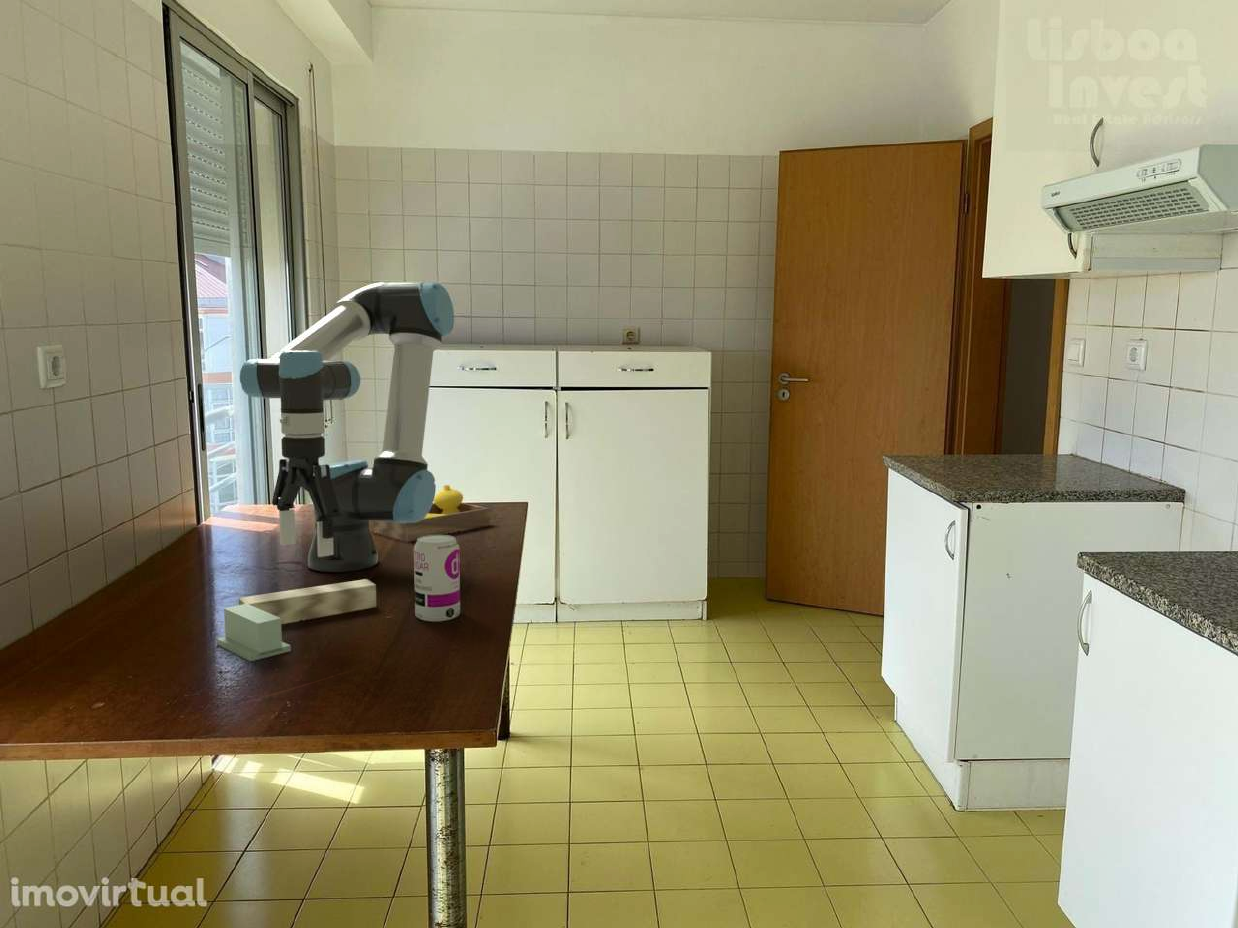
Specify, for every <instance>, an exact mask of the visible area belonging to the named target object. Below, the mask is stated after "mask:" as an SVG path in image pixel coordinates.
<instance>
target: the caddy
mask: <svg viewBox="0 0 1238 928" xmlns="http://www.w3.org/2000/svg"><path fill="white" fill-rule="evenodd" d="M457 508H458V509H459V510H460V511H461V512H459V513H453V514H447V515H442V516H436V517H430V518H424V519H422V520H420V521H419V522H415V523H397V522H386V521H371V520H370V533H371V532H374V533H373V534H375V533H378V534H377V535H379V534H381V535H380V536H382V535H384V536H383V537H386V536H387V538H390V537H391V539H393V538H395V539H394V540H397V539H399V540H398V541H401V542H404V541H405V543H410V542H411V541H412V542H415V541H416V542H417V539H418V538H420V537H422V536H428V535H444V534H445V535H449V534H448V533H450V534H454V533H453V532H455V533H458V532H457V531H460V532H464V531H470V530H472V529H473V530H474V529H478V528H483V527H488V526H490V520H491V519H490V508H489V507H485V506H481V505H474V504H470V503H466V502H465V503H464V502H461V504H460V505H459V506H458V507H457ZM442 511H443V509H440V508H439V507H438V506H436V504H435V503H434V502H433V504H432V507H431V509H430V511H429V512H428V514H441V513H442Z"/></svg>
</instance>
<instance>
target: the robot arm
mask: <svg viewBox="0 0 1238 928" xmlns="http://www.w3.org/2000/svg"><path fill="white" fill-rule="evenodd" d="M454 324H455V312H454V305H453V302H452V299H451V296H450V294H449V291H447V288H445V287H444V286H443V285H442V284H440V283H438V282H426V281H420V282H419V281H417V282H416V281H414V282H411V281H410V282H406V281H405V282H404V281H402V282H401V281H400V282H396V281H395V282H394V281H393V282H386V281H385V282H383V281H382V282H376V283H375V282H374V283H371V284H368V285H366V286H363V287H361V288H359V289H356V290H353V292H351V293H349V294H347V295H346V296H344V297H342V298H341V299H340V300H338V301H336V302H335V303H334V304H333V305H332V307H331V309H330V313H328V314H326V315H325V316H324V317H322V318H321V319H320V320H318V321H317V322H316V323H315V324H313V325H312V326H311V327H309V328H307V329H306V330H305V331H304V332H302V333H301V334H299V335H298V336H297V337H295V338H294V339H293V340H291V341H290V342H288V343H287V344H286V345H284V346H283V347H282V348H280V349H279V350H277V351H276V352H275V353H273V354H272V355H271V356H268V358H258V357H257V358H256V359H252V358H251V359H248V360H246V361H245V362H244V363H243V364H242V366H241V368H240V371H239V382H240V386H241V389H242V391H243V392H244V394H246V395H247V396H248V397H251V398H261V399H264V400H266V399H280V419H279V423H280V426H281V427H280V428H281V434H283V435H284V436H283V437H282V438H281V457H283V458H281V459H279V463H278V474H277V479H276V483H275V487H274V491H273V496H272V500H271V503H272V506H276V509H277V510H278V512H279V514H278V515H279V516H278V517H279V538H280V539H279V542H280V546H286V545H287V546H288V545H294V544H295V545H296V543H297V541H296V514H295V513H296V511H295V508H296V506H295V504H294V503H295V501H296V499H297V496H298V495H299V492H300V490H301V488H304V490H305V491H306V492H308V495H309V497H310V499H311V502H312V504H313V508H314V509H313V510H314V511H313V512H314V534H313V535H314V536H313V537H312V541H311V545H310V547H309V552H308V554H307V566H308V568H309V569H311V570H314V571H318V572H329V573H332V572H333V573H342V572H343V573H344V572H352V571H353V572H355V571H360V570H365V569H368V568H371V567H374V566H376V565H377V564H378V563H379V557H378V556H379V553H378V550H377V546H376V545H375V542H374V539H373V537H372V533H371V530H370V522H371V521H386V522H397V523H415V522H419V521H420V520H422V519H423V518H424V517H425V516H426V515H427V514H428V512H429V511H430V509H431V507H432V504H434V497H435V496H436V495H435V494H436V488H437V487H436V483H435V482H436V479H435V476H434V474H433V473H432V472H431V471H429V470H428V465H429V464H428V462H427V461H426V459H425V458H424V457H423V449H424V439H425V429H426V421H427V411H428V405H429V404H428V403H429V395H430V386H431V376H432V368H433V359H434V352H435V351H436V350H437V349H438V348H440V347H441V346H442V339H443V336H447V335H449V334H451V333H452V330H453V329H454ZM372 335H388V340H389V341H390V343H392V344H393V346H394V347H393V348H394V349H393V357H392V366H391V375H390V382H389V390H388V391H389V392H388V398H387V399H388V400H387V407H386V408H387V409H386V417H385V425H384V426H385V427H384V434H383V442H382V450H381V452H380V453H379V454H378V455H377V456H375V457H374V458H373V459H374V460H373V466H372V467H369V464H368V462H367V460H365V459H364V460H363V459H356V460H346V461H345V460H344V461H339V462H333V463H326V464H320V462H319V459H320V458H323V457H324V456H325V455H326V447H325V446H326V440H325V439H326V438H325V437H324V436H323V434H324V433H325V431H326V429H325V411H324V410H325V409H324V407H325V406H324V404H325V403H324V401H337V400H338V401H343V400H344V399H348V398H351V397H353V396H355V394H357V392H358V391H359V389H360V386H361V375H360V371H359V370H358V369H357V367H356V366H355V365H354V364H353V363H351V362H350V361H347V360H341V359H332V358H333V357H334V356H336V355H337V354H338V353H339V352H341V351H342V350H343V349H344V348H346V347H347V346H348V345H350V344H351V343H352V342H355V341H356V342H357V341H361V340H363V339H364V338H366V337H368V336H372ZM331 359H332V360H331Z"/></svg>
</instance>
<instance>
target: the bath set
mask: <svg viewBox="0 0 1238 928" xmlns="http://www.w3.org/2000/svg"><path fill="white" fill-rule="evenodd" d="M442 487H443V489H442V490H440V491H438V492H437V494H436V495H435V497H434V501H433V504H434V503H435V504H436V506H438V507H439V508H440V509H443V511H442V513H441V514H427V515H426V516H425V517H424V518H430V517H436V516H442V515H447V514H453V513H459V512H461V511H460V510H459V509H458V508H457V507H458V506H459V505H460V504H461V503H463V499H464V495H463V493H462V492H461V491H459V490H457V489H454V488H451V486H450V484H446V485H443V486H442ZM424 518H423V519H424Z"/></svg>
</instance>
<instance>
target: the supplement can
mask: <svg viewBox="0 0 1238 928" xmlns="http://www.w3.org/2000/svg"><path fill="white" fill-rule="evenodd" d="M413 564H414V565H413V569H414V570H413V572H414V574H413V576H414V577H413V579H414V607H415V608H414V615H415V617H416V618H418V619H419V620H422V621H425V622H444V621H449V620H453V619H455V618H457V617H458V616H459V615H460V614H461V589H460V588H461V584H460V583H461V579H460V577H461V574H460V573H461V572H460V545H459V543H458V541H457V539H456V537H455V536H453V535H450V534H445V535H428V536H422V537H420V538H418V539H417V540H416V542H415V545H414V547H413Z"/></svg>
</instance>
